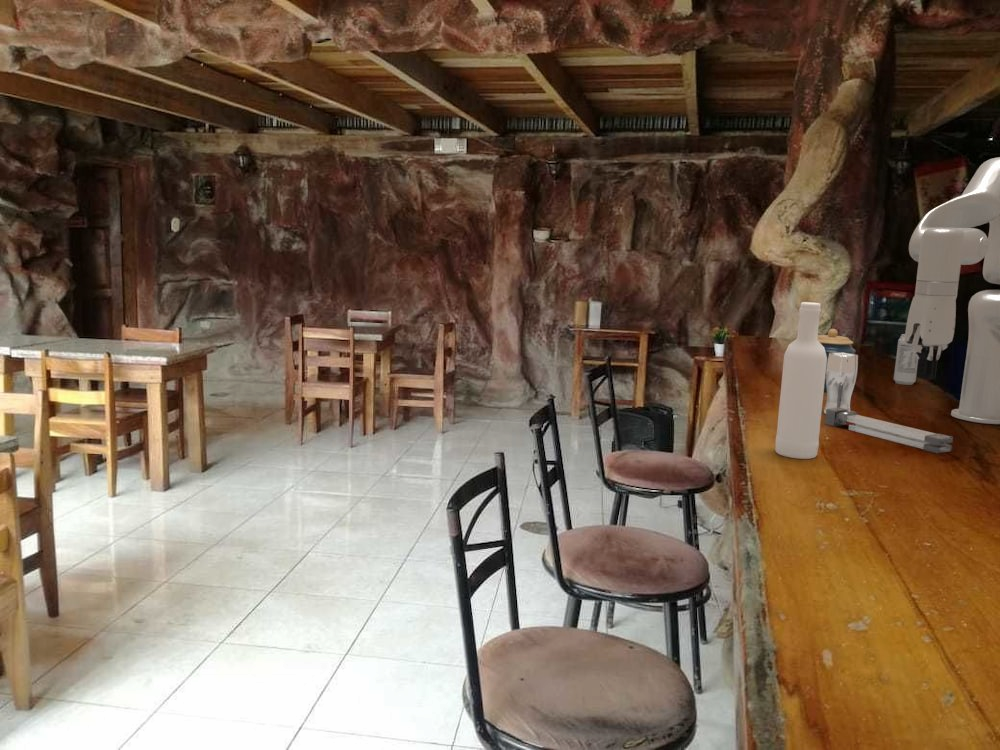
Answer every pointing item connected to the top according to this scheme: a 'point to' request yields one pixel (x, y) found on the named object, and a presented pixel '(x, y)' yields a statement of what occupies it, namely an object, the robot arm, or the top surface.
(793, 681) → the top surface
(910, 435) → the upper jaw
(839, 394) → the beer glass
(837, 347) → the canister
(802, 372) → the bottle
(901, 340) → the energy drink can
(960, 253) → the robot arm
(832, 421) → the tongs base
